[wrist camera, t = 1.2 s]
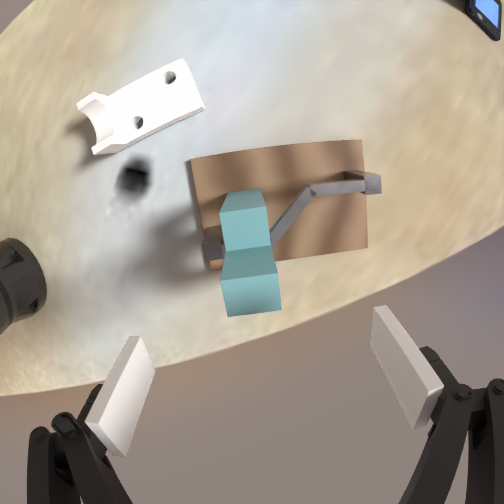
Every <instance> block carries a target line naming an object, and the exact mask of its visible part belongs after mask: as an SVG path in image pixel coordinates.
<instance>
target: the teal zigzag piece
mask: <svg viewBox="0 0 504 504" xmlns="http://www.w3.org/2000/svg"><path fill="white" fill-rule="evenodd" d="M219 215H220V221H221V227H222V232H223V238H224V243H225V249H226V254H225V259H224V264H223V269H222V274H221V279H220V282H221V287H222V292H223V297H224V301H225V306H226V311H227V315H228V317H231V316H239V315H248V314H255V313H263V312H270V311H278V310H282V307H281V298H280V289H279V280H278V272H277V268H276V264H275V260H274V256H273V252H272V247H271V242H270V234H269V226H268V218H267V211H266V205H265V202H264V199H263V196H262V193H261V190H260V188H257V189H250V190H243V191H236V192H230V193H228V194H227V196H226V199H225V201H224V203H223V205H222V208H221V210H220V212H219Z"/></svg>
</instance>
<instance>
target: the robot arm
mask: <svg viewBox="0 0 504 504" xmlns="http://www.w3.org/2000/svg"><path fill="white" fill-rule="evenodd" d="M45 300H46V283H45V278H44V275H43V272H42V269H41V267H40V265H39V263H38V261H37V259H36V258H35V256H34V255H33V253H32V252H31V251H30V249H29V248H28V247H27V246H26V245H25V244H23V243H22V242H20V241H19V240H16V239H13V238H7V239H5V240H3V241H1V242H0V335H1V334H2V333H3V332H4V331H5V330H6V329H7V328H8V327H9V326H10V325H11V324H12V323H14V322H17V321H19V320H22V319H25V318H28V317H31V316H33V315H35V314H36V313H37V312H38V311H39V310H40V309H41V308H42V307H43V305H44V303H45ZM370 347H371V349H372V350H373V352H374V354H375V356H376V358H377V359H378V362H379V363H380V365H381V367H382V369H383V371H384V373H385V375H386V377H387V379H388V381H389V383H390V385H391V387H392V389H393V391H394V393H395V395H396V397H397V399H398V401H399V403H400V404H401V407H402V409H403V411H404V413H405V415H406V417H407V419H408V421H409V423H410V425H411V428H412V430H414V429H417V428H420V427H422V426H425V425H427V423H428V421H429V419H430V417H431V419H432V421H433V425H432V427H431V429H430V431H429V433H428V439H427V442H426V444H425V447H424V449H423V452H422V454H421V457H420V459H419V462H418V464H417V466H416V469H415V471H414V473H413V475H412V478H411V480H410V482H409V484H408V486H407V488H406V490H405V492H404V494H403V496H402V498H401V500H400V502H399V503H398V504H444V503H445V500H446V498H447V495H448V493H449V490H450V487H451V484H452V482H453V479H454V476H455V473H456V470H457V467H458V464H459V461H460V457H461V454H462V450H463V447H464V443H465V438H466V434H467V431H468V436H469V437H468V438H469V455H468V456H469V457H468V458H469V459H468V478H467V491H466V500H465V504H504V380H503V379H498V378H497V379H493V380H492V381H490V383H489V385H488V386H487V388H481V389H471V388H470V387H469V386H468V385H465V384H459V383H458V382H457V380H456V379H455V378H454V376H453V375H452V373H451V372H450V371H449V369H448V368H447V367H446V365H444V363H443V361H442V360H441V359H440V357H439V356H438V355H437V353H436V352H435V351H434V350H432V349H431V348H429V347H428V346H426V347H423V348H420V349H419V348H418V347H417V346H416V344H415V343H414V342H413V340H412V339H411V338H410V336H409V335H408V334H407V332H406V331H405V330H404V328H403V327H402V326H401V324H400V323H399V322H398V320H397V319H396V317H395V316H394V315H393V314H392V312H391V311H390V310H389V308H388V307H387V306H386V305H383V306H379V307H374V311H373V324H372V333H371V343H370ZM154 374H155V369H154V366H153V364H152V362H151V359H150V357H149V355H148V352H147V350H146V348H145V345H144V343H143V340H142V338H141V336H131V337H129V338H128V340H127V342H126V344H125V345H124V347H123V349H122V351H121V353H120V354H119V356H118V358H117V360H116V362H115V364H114V365H113V367H112V369H111V371H110V373H109V375H108V377H107V379H106V380H105V382H104V384H98V385H97V386H96V387H95V388H94V389H93V390H92V391H91V393H90V395H89V398H88V399H87V401H86V404H85V405H84V406H83V408H82V410H81V412H80V414H79V416H78V418H77V420H76V419H75V418H74V417H73V415H72V414H70V413H69V412H62V413H59V414H58V415H56V416H55V417H54V418H53V420H52V424H51V426H52V428H53V429H54V430H55V431H56V432H55V433H50V432H49V430H47V428H45V427H41V426H40V427H37V428H36V429H34V430H33V431H32V432H31V434H30V438H29V449H28V464H27V504H81V501H80V496H81V499H82V501H83V503H84V504H133V503H132V501H131V500H130V498H129V496H128V495H127V493H126V491H125V490H124V488H123V486H122V484H121V482H120V481H119V479H118V477H117V475H116V473H115V471H114V469H113V467H112V465H111V463H110V461H109V459H108V457H107V456H106V455H105V453H106V451H107V449H108V450H109V452H110V453H111V454H112V455H115V456H120V457H126V455H127V452H128V449H129V446H130V443H131V440H132V437H133V434H134V430H135V428H136V425H137V422H138V419H139V416H140V413H141V410H142V407H143V404H144V402H145V399H146V396H147V393H148V390H149V388H150V385H151V382H152V380H153V377H154Z"/></svg>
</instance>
